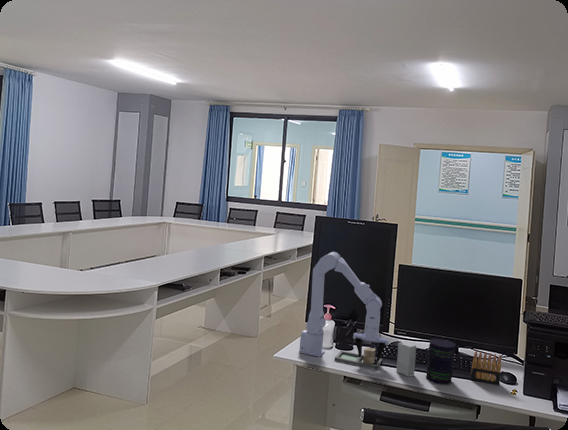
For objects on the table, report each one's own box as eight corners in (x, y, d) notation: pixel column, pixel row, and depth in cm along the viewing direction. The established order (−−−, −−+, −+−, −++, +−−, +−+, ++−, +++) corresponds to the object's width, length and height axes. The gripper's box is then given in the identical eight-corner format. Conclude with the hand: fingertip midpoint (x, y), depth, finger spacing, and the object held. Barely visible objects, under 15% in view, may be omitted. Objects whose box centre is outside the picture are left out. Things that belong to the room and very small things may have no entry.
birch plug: (362, 363, 214) (364, 349, 214) (364, 360, 218) (366, 346, 218) (372, 365, 213) (373, 351, 213) (374, 362, 217) (375, 348, 216)
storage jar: (451, 386, 198) (455, 348, 196) (424, 381, 201) (428, 344, 199) (451, 377, 207) (455, 341, 206) (426, 372, 210) (430, 336, 209)
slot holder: (334, 360, 216) (334, 357, 216) (340, 353, 225) (341, 350, 225) (377, 369, 209) (377, 366, 209) (382, 361, 219) (382, 358, 219)
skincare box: (414, 375, 207) (417, 345, 205) (407, 377, 204) (410, 347, 203) (402, 369, 211) (405, 340, 210) (395, 371, 208) (398, 342, 207)
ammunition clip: (470, 380, 206) (473, 350, 205) (470, 378, 208) (473, 349, 207) (499, 385, 203) (502, 355, 202) (499, 383, 205) (502, 354, 203)
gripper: (391, 327, 215) (388, 358, 217) (357, 321, 221) (354, 352, 222) (388, 331, 209) (385, 364, 210) (353, 325, 214) (350, 357, 215)
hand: (369, 358), depth 215 cm, fingers open, 7 cm apart
